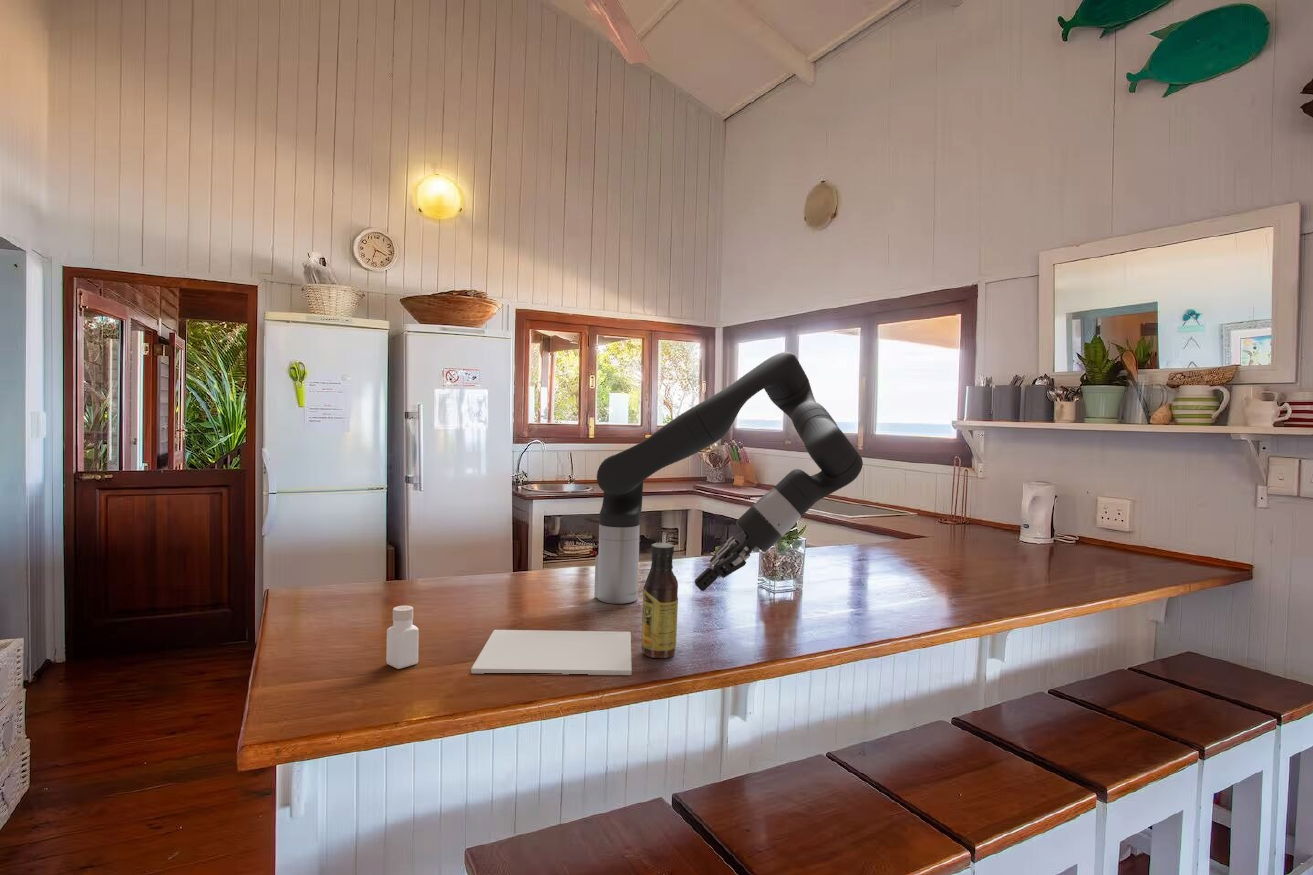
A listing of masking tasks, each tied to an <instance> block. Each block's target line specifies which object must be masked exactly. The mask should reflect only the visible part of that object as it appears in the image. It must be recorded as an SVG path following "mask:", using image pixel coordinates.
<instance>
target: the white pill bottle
mask: <svg viewBox="0 0 1313 875" xmlns="http://www.w3.org/2000/svg"><path fill="white" fill-rule="evenodd" d="M413 620H414V607H413V606H411V605H398V606H395V607H393V608H392V621H393V622H392V626H390V627H388V628H387V629H386V653H385V654H386V656H385V657H386V658H385V659H386V660H385V661H386V663H387V665H389V666H391V667H393V668H395V669H398V670H400V669H404V668H406V667H411V666H414V665H417V664H418V663H419V638H420V632H419V631H420V630H419V628H418V627H417V626H416V625H414V624H413Z"/></svg>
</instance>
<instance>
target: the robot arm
mask: <svg viewBox="0 0 1313 875" xmlns="http://www.w3.org/2000/svg"><path fill="white" fill-rule="evenodd" d="M811 386H812V385H811V384H810V380H809V378H808V376H807V374H806V372H805V370H804V369H803V366H802V365H801V363H800V361H799V360H798V357H797V356H796V355H795V353H793V352H791V351H783V352H780V353H776V354H775V355H772V356H770V357H768V358H767V359H766V360H764V361H763V362H761V363H759V364H758V365H757V366H755V367H754V368H752V369H751V370H749V371H748V372H747V373H746V374H744V375H743V376H741V377H740V378H739V379H737V380H736V381H734V382H733V383H732V384H729V386H727V387H726V388H724V389H722V390H720V391H719V392H717V393H715V394H714V395H712V396H710V397H709V398H707V399H705V400H704V401H702V402H700V403H698V404H696V405H694V406H693V407H691V408H690V409H688V410H686V411H684V412H682V413H680V414H679V415H678V416H677V417H675V418H674V419H672V420H670V421H669V422H667V423H666V424H665V425H663V426H662V427H660V428H659V429H658V430H656V431H655V432H654V433H653V434H651V435H650V436H649V437H647V438H646V439H644V440H642V441H641V442H639V443H637V444H636V445H633V446H630V447H629V448H626V449H625V450H623V451H620V452H618V453H615V454H613V455H610V456H608V457H607V458H605V459H604V460H603V461H602V462H601V463H600V465H599V467H598V469H597V472H596V482H597V485H598V487H599V488H600V490H602V492H603V497H602V498H603V499H602V505H601V507H600V508H601V509H600V512H599V516H598V518H599V519H598V521H599V522H598V524H599V525H598V554H597V555H596V556H595V558H594V559H595V561H594V563H595V564H594V596H593V597H594V598H597V600H598V601H600V602H603V603H607V604H617V605H618V604H619V605H621V604H629V603H634V602H636V601H637V600H638V597H639V596H638V590H639V589H638V588H639V587H638V586H639V565H640V564H639V562H640V561H639V560H640V559H639V558H640V556H639V555H640V522H641V513H642V509H643V494H644V492H643V490H644V481H645V480H647V478H649V477H650V476H652V475H654V474H655V473H657V472H659V471H660V470H662V469H663V468H666V467H668V466H669V465H670V466H671V465H673V464H675V463H678V462H680V461H682V460H684V459H687V458H689V457H691V456H693V455H696V454H698V453H699V452H701V451H703V450H705V449H707V448H708V447H710V446H712V445H713V444H715V443H717V442H719V441H720V440H721V439H723V438H724V437H725V436H726V435H727V433H728V432H729V430H730V428H731V427H732V425H733V424H734V422H735V420H736V418H737V416H738V415H739V413H740V411H741V409H742V408H743V406H745V404H746V402H748V401H749V400H750V399H751V398H752V397H753V396H755V395H756V394H758V393H759V392H760V391H762V390H764V391H765V393H766V394H767V397H768V398H769V399H770V401H771V402H772V403H773V404H774V405H775V406H776V407H777V408H778V409H779V410H781V411H782V412H783V413H784V414H785V415H786V416H787V417H789V419H790V420H791V423H792V424H793V427H794V429H795V430H796V433H797V435H798V436H799V437H800V439H801V441H802V442H803V444H804V447H805V450H806V451H807V454H808V455H809V457H810V458H811V459H812V461H813V462H814V463H815V464H816V465H817V466H818V468H819V469H820V471H819V472H818V473H814V474H812V475H809V474H808V473H807V472H805V471H803V470H802V469H799V468H795V469H793V470H791V471H790V472H789V473H787V474H786V475H785V477H784V478H782V479H781V480H779V482H778V483H777V484H776V485H775V486H774V487H773V488H771V489H769V491H768V492H766V493H765V494H764V495H762V496H761V497H760V498H759V499H758V500H757V501H756V502H754V504H753V505H752V506H751V507H750V508H749V509H747V510H746V511H745V512H744V513H743V514H742V515H741V516H740V517H739V518H738V519H737V520H736V522H735V523H736V525H737V527H739V529H741V532H739V533H738V534H736V535H735V536H733V535H732V536H731V537H729V538H728V539H725V540H724V541H723V542H722V544H721V545H720V546H719V547H718V549H717V551H716V552H715V553H714V554H713V556H712V558H711V559H710V560H709V564H708V567H707V568H706V569H705V570H704V571H703V572H702V573H700V574H699V575H698V577H696V578H695V580H694V584H695V586H696V587H697V588H698V589H699V590H700V591H701V592H704V591H705V590H707V588H709V587H710V586H711V585H712V584H713V583H714V582H716V580H717V579H721V578H722V579H724V578H726V577H727V576H730V575H731V574H732V573H734V572H736V571H738V570H740V569H742V568H743V567H744V566H746V564H747V560H748V559H749V558H750V556H751V553H752V552H753V551H754V549H755V548H756V547H757V548H758V549H759V550H760V551H761V552H762V553H767V551H769V550H770V549H772V547H774V545H775V544H777V543H778V541H780V539H781V538H782V537H783V536H784V535H786V534H787V533H788V532H789V531H790V530H791V529H792V528H793V527H794V525H796V523H797V522H798V520H800V518H801V517H803V515H805V514H806V513H807V512H808V511H809V510H810V509H811V508H812V507H813V506H815V504H816V503H817V502H818V501H820V500H822V499H824V498H826V497H828V496H829V495H831V494H833V493H834V492H837V491H839V490H841V489H842V488H844V487H847V486H848V485H849V484H851V483H853V481H855V480H856V479H857V478H858V476H859V475H860V473H861V472H862V469H863V464H864V462H863V457H861V454H860V452H858V450H857V449H856V448H855V446H854V445H853V444H852V443H851V442H850V440H849V438H848V437H847V436H846V435H845V434H844V431H842V430H841V429H840V428H839V426H838V424H837V422H836V421H835V419H834V418H833V417H832V416H831V414H830V413H829V412H828V410H827V409H826V408H825V407H824V406H823V405H822V404H821V403H819V402H817V401H816V399H815V396H814V393H813V391H812V390H813V389H812V388H811Z"/></svg>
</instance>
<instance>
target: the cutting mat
mask: <svg viewBox="0 0 1313 875" xmlns="http://www.w3.org/2000/svg"><path fill="white" fill-rule="evenodd" d="M631 641H632V633H631V631H615V630H614V631H613V630H612V631H608V630H607V631H605V630H603V631H602V630H600V631H597V630H596V631H595V630H539V629H538V630H537V629H536V630H535V629H525V630H524V629H519V630H518V629H494V630H493V631H492V632H491V634H490V636H489V638H488V639H487V641H486V643H485V645H484V647H483V648H482V649H481V651H480V653H479V655H478V657H477V658H476V660H475V661H474V663H473V665H472V666H471V669H470V671H471V672H470V674H484V673H562V674H561V675H569V674H588V675H589V676H591V675H592V676H632V672H633V671H632V667H633V666H632V642H631ZM588 675H587V676H588Z"/></svg>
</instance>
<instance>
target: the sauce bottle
mask: <svg viewBox="0 0 1313 875" xmlns="http://www.w3.org/2000/svg"><path fill="white" fill-rule="evenodd" d="M650 546H651V548H650V553H651V564H650V570H649V572H648V574H647V577H646V580H645V582H644V585H643V587H642V588H643V589H642V590H643V592H642V593H643V594H642V618H641V620H642V621H641V650H642V653H643V655H644V656H646V657H648V658H651V659H652V658H653V659H668V658H672V657H674V655H675V653H676V646H677V637H678V636H677V635H678V634H677V631H678V609H679V608H678V606H679V597H678V596H679V595H678V592H679V590H678V589H679V582H678V579H677V576H676V575H675V573H674V572H673V568H674V565H673V557H674V554H675V546H674V544H672V543H669V542H654V543H651V545H650Z"/></svg>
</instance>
